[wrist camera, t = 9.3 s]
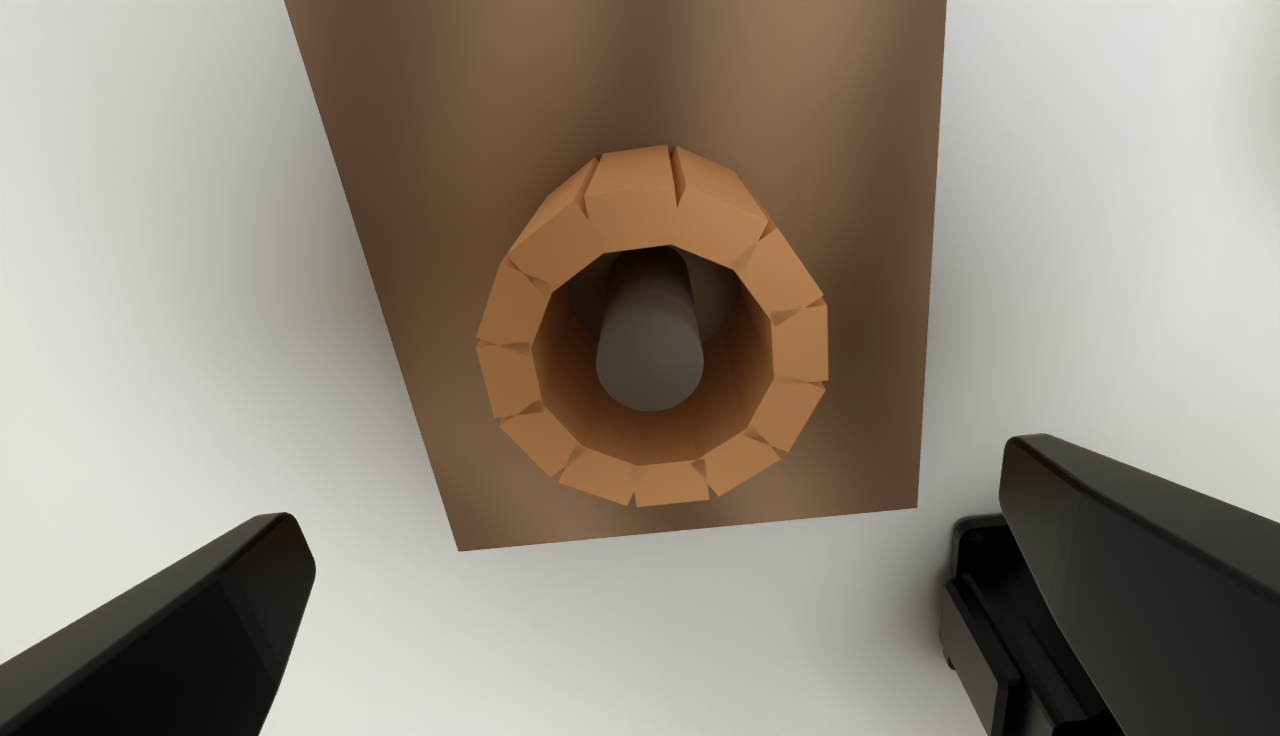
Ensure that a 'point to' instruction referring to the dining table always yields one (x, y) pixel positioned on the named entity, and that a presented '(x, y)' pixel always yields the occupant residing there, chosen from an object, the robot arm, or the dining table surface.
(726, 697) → the dining table surface
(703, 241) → the orange short hollow cylinder
